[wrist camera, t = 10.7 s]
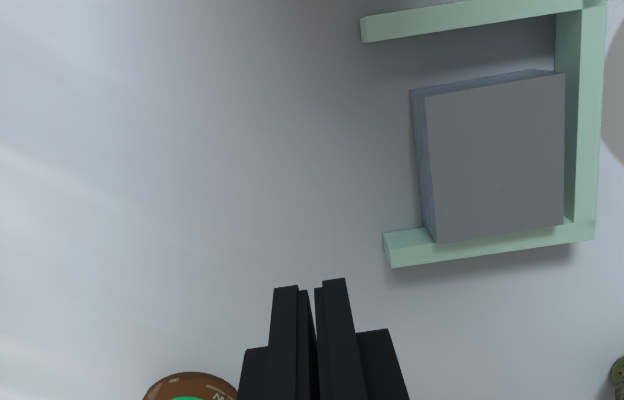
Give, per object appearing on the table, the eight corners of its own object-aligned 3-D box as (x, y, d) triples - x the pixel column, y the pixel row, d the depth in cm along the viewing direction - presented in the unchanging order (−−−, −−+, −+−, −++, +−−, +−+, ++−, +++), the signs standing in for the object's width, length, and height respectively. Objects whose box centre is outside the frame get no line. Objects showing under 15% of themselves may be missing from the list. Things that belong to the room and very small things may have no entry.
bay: (359, 19, 30) (365, 16, 27) (579, -16, 30) (608, -23, 27) (384, 250, 36) (391, 268, 33) (570, 223, 35) (594, 239, 33)
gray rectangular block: (408, 89, 32) (424, 97, 28) (529, 68, 32) (564, 72, 28) (421, 220, 35) (437, 244, 31) (531, 202, 35) (563, 224, 31)
